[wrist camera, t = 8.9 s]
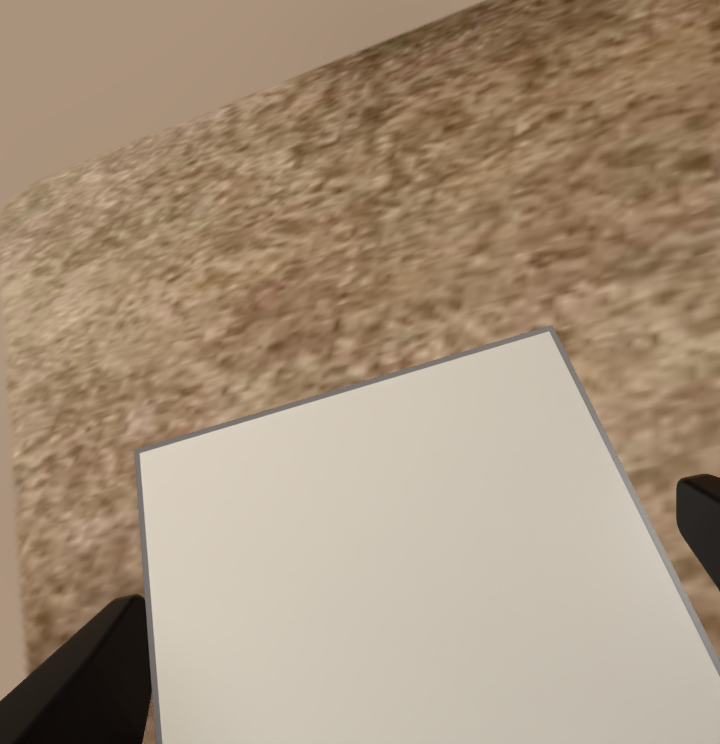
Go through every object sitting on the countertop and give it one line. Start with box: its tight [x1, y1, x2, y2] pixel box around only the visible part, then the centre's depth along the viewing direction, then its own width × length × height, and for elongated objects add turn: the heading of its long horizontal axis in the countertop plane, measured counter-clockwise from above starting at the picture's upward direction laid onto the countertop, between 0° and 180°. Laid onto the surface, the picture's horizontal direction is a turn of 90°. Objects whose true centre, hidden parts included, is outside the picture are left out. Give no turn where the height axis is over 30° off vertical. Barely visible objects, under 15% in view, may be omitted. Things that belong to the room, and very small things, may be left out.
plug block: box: [134, 325, 720, 744], centre depth 10 cm, size 4×4×13 cm
